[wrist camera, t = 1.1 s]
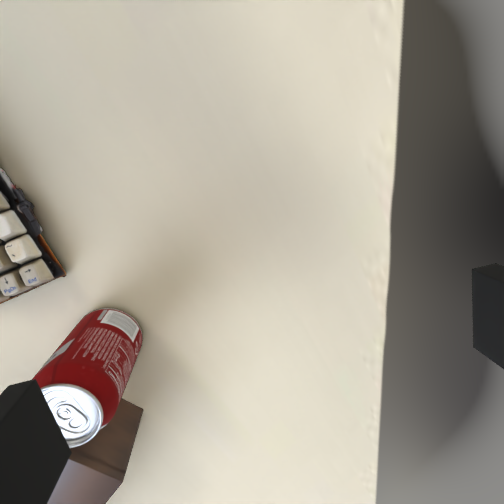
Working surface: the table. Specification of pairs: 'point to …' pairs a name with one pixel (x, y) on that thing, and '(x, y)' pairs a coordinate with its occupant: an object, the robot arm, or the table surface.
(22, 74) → the table surface
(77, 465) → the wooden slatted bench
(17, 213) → the mechanical keyboard
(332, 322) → the table surface
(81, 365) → the soda can
